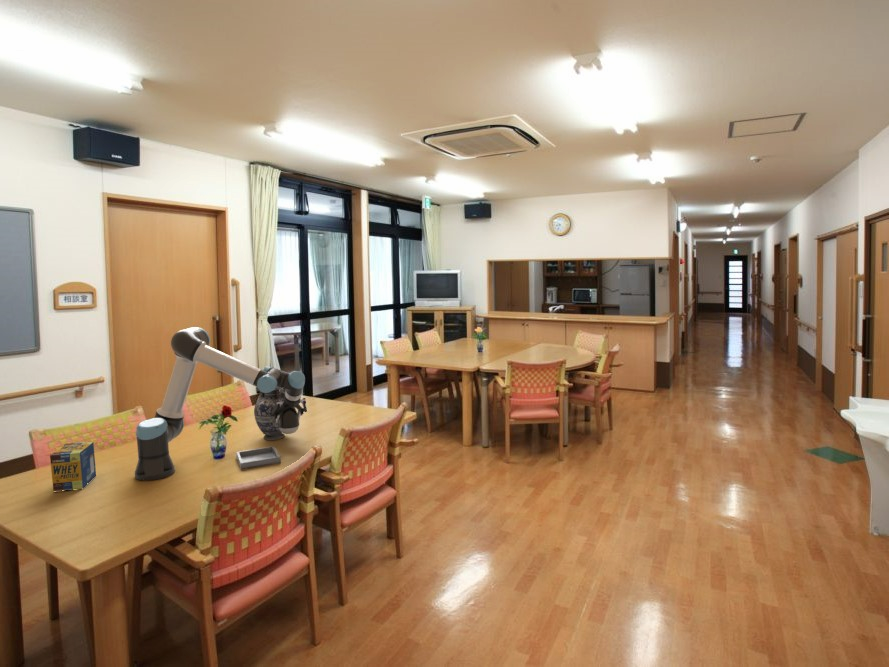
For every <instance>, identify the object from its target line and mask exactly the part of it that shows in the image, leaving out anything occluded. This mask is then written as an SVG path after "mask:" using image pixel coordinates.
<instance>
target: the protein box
mask: <svg viewBox="0 0 889 667" xmlns="http://www.w3.org/2000/svg"><path fill="white" fill-rule="evenodd" d="M94 447H95V446H94V441H89V442H73V443H72V442H71V443H65V444H64V445H62V446H61V447H59V448H58V449H57V450H55V451H54V452H53V453H52V454H50V455H49V458H50V471H51V480H52V490H53V491H62V490H73V489H82V488H83V487H85V486H86V485H87V483H89V482H90V481H91V480H92V479H93V478H94V477H95V476H96V477H97V471H96V470H97V469H96V460H95V448H94ZM96 477H95V478H96ZM95 478H94V479H95ZM94 479H93V480H94ZM93 480H92V481H93ZM92 481H91V482H92ZM91 482H90V483H91ZM90 483H89V484H90ZM86 487H87V486H86ZM86 487H85V488H86Z"/></svg>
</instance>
